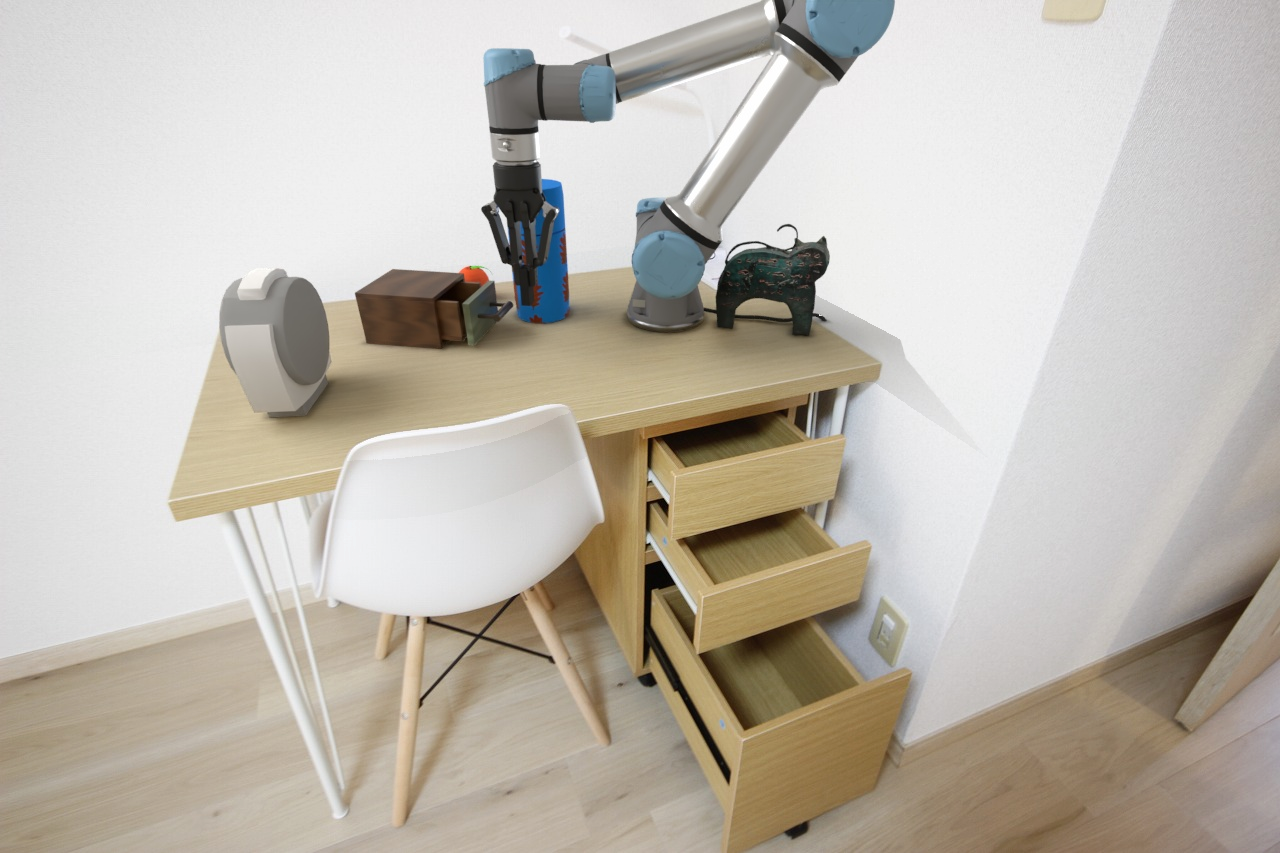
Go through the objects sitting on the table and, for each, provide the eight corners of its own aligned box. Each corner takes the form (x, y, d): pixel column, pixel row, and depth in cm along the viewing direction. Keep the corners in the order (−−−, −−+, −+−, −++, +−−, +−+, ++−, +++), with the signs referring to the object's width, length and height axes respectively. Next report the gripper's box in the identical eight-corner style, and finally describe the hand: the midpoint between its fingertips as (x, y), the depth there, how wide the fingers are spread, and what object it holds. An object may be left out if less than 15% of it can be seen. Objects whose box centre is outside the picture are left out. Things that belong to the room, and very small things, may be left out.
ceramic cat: (818, 328, 125) (834, 223, 114) (818, 341, 119) (835, 232, 109) (716, 319, 129) (723, 216, 118) (711, 331, 123) (718, 225, 113)
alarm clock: (293, 374, 107) (256, 253, 97) (346, 372, 108) (314, 252, 97) (246, 431, 92) (196, 295, 82) (308, 428, 93) (265, 293, 82)
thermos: (560, 325, 125) (551, 191, 112) (508, 321, 127) (494, 189, 114) (576, 305, 134) (569, 179, 121) (527, 302, 136) (516, 177, 123)
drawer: (520, 321, 125) (516, 282, 121) (497, 347, 115) (492, 305, 111) (434, 314, 128) (427, 276, 123) (404, 340, 117) (395, 299, 113)
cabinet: (470, 320, 127) (464, 273, 122) (441, 349, 116) (432, 298, 111) (402, 315, 130) (392, 268, 125) (366, 343, 118) (354, 292, 113)
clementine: (489, 290, 142) (485, 258, 139) (500, 299, 137) (496, 267, 134) (454, 296, 139) (449, 264, 135) (463, 306, 134) (459, 273, 130)
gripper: (468, 163, 100) (485, 307, 112) (549, 167, 98) (557, 313, 110) (486, 155, 106) (500, 293, 118) (562, 159, 104) (569, 298, 117)
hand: (527, 302), depth 114 cm, fingers closed
